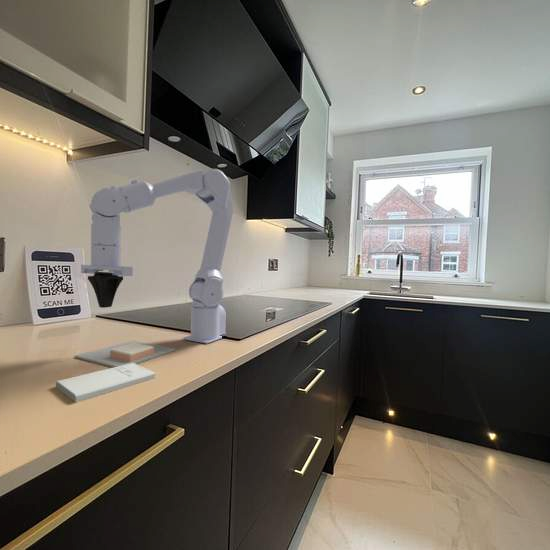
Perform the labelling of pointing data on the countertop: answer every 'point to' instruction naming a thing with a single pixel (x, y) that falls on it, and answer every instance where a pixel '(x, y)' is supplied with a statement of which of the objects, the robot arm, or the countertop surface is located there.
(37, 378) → the countertop surface
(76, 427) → the countertop surface
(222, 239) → the robot arm
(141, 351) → the tile
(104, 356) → the mat
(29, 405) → the countertop surface
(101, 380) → the external hard drive
